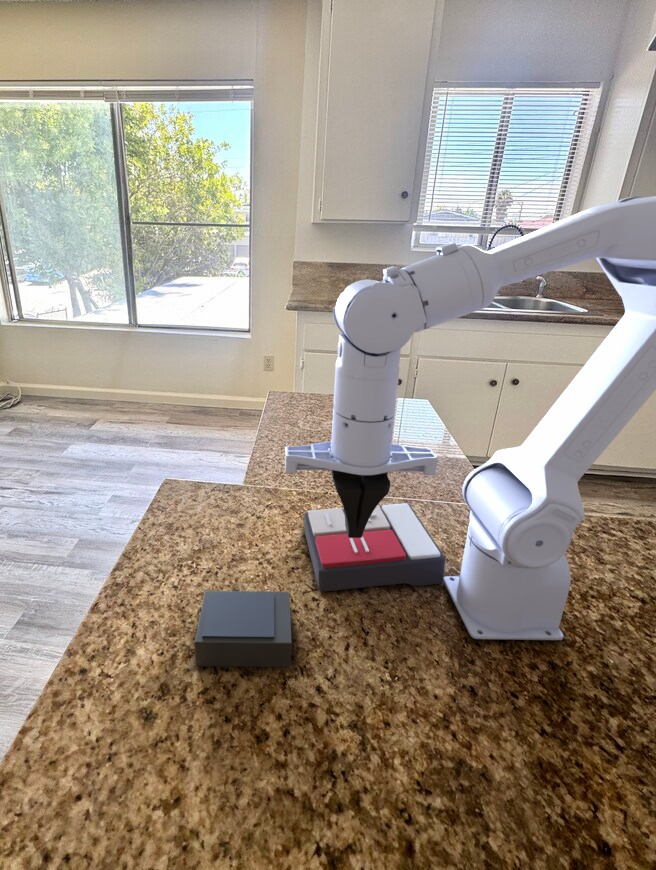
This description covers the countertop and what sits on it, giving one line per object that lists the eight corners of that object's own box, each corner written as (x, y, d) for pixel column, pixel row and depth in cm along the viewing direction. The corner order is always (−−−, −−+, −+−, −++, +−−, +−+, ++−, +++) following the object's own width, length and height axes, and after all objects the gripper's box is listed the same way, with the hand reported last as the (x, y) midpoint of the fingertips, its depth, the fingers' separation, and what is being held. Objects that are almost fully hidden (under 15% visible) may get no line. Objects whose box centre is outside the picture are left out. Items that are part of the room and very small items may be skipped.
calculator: (303, 507, 57) (409, 497, 59) (303, 533, 59) (407, 523, 60) (319, 566, 47) (447, 553, 48) (319, 596, 48) (444, 583, 49)
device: (289, 590, 44) (204, 589, 44) (291, 642, 39) (194, 641, 39) (288, 613, 45) (205, 612, 45) (290, 667, 40) (195, 666, 40)
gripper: (425, 396, 43) (410, 508, 47) (285, 394, 43) (282, 506, 47) (453, 424, 37) (433, 553, 41) (287, 422, 37) (284, 551, 41)
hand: (353, 531), depth 43 cm, fingers closed
